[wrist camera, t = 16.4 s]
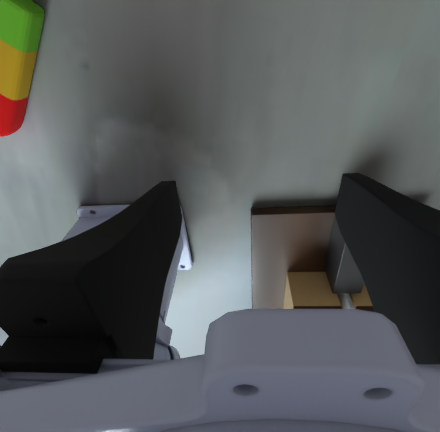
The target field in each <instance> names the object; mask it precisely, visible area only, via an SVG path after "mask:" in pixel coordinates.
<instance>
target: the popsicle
mask: <svg viewBox="0 0 440 432" xmlns="http://www.w3.org/2000/svg"><path fill="white" fill-rule="evenodd" d="M44 14H45V13H44V10H43V9H42V8H41V7H40V6H39V5H37V4H36V3H34V2H33V1H31V0H0V136H7V135H10V134H12V133H14V132H16V131H17V130H18V129H19V128H20V127H21V125H22V123H23V120H24V115H25V110H26V105H27V100H28V95H29V90H30V85H31V81H32V76H33V71H34V66H35V61H36V56H37V51H38V46H39V41H40V36H41V31H42V26H43V21H44Z"/></svg>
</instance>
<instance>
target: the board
mask: <svg viewBox="0 0 440 432" xmlns="http://www.w3.org/2000/svg"><path fill="white" fill-rule="evenodd" d="M335 209H336V206H314V207H283V208H252V209H251V261H252V309H283V308H284V298H285V287H286V277H287V272H325V270H324V266H325V261H326V256H327V251H328V246H329V242H330V237H331V232H332V227H333V222H334V217H335Z"/></svg>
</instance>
